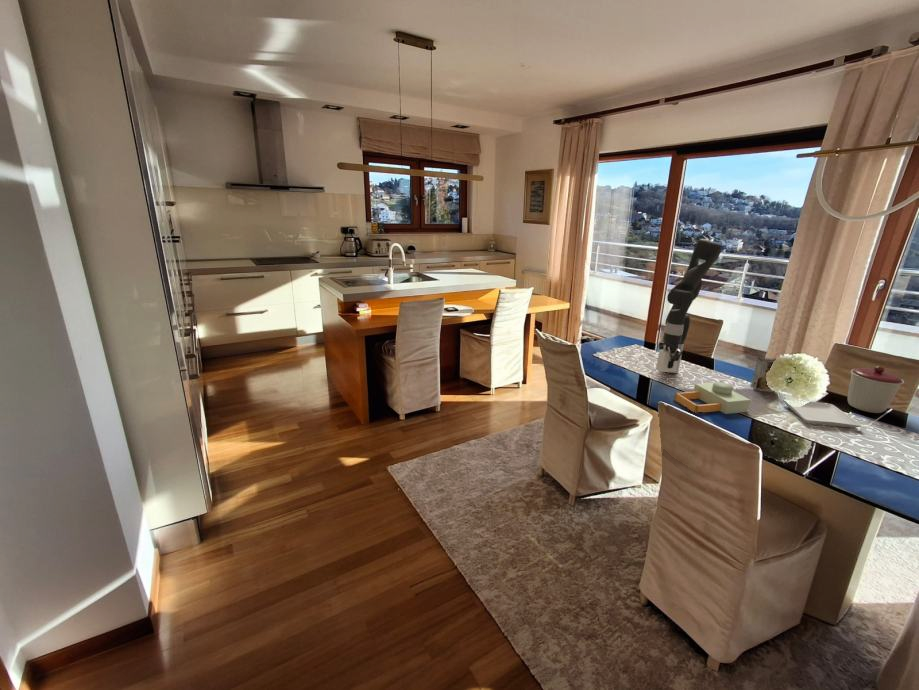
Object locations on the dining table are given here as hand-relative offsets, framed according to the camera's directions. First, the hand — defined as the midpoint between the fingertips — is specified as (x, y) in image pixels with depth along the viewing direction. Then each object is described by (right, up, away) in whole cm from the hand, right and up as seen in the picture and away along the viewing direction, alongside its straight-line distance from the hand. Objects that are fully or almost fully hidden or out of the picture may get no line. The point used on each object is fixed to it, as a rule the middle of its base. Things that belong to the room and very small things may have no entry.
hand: (666, 366), depth 205 cm
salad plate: (+61, -23, -14) cm, 66 cm away
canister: (+91, -20, -4) cm, 94 cm away
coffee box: (+56, -13, +14) cm, 59 cm away
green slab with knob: (+17, -18, -4) cm, 25 cm away
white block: (0, -2, +1) cm, 2 cm away
